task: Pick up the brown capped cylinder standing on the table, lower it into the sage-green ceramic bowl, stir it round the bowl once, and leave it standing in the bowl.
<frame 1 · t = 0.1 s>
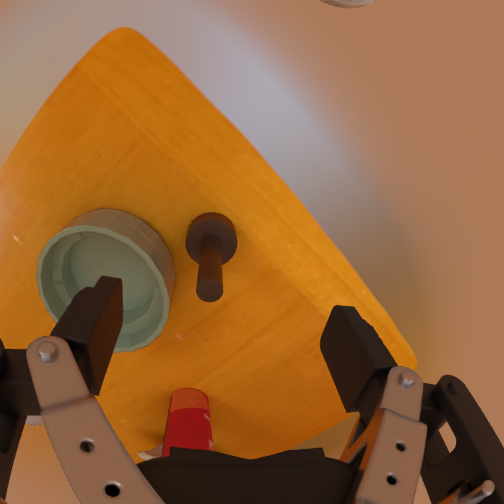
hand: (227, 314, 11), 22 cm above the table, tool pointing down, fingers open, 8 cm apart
long tapered cone: (47, 388, 41), on the table
brown capped cylinder: (211, 235, 32), on the table
bowl: (113, 269, 33), on the table
coffee cup: (190, 398, 43), on the table
pale crumpled lump: (175, 441, 49), on the table
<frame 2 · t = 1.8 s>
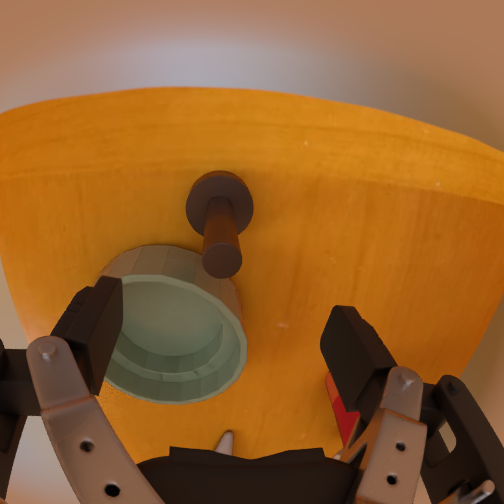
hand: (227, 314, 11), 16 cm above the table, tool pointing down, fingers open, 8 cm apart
long tapered cone: (213, 454, 43), on the table
brown capped cylinder: (219, 200, 25), on the table
bowl: (166, 312, 29), on the table
coffee cup: (345, 373, 37), on the table
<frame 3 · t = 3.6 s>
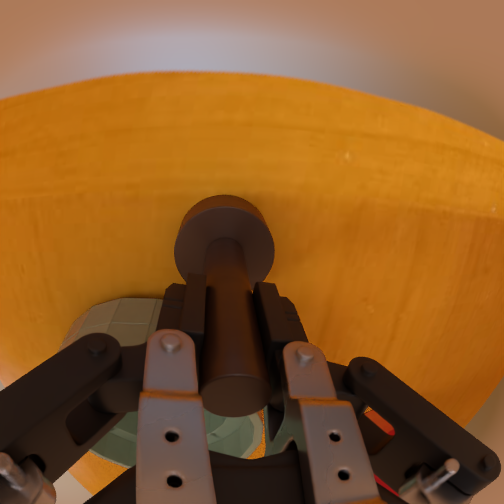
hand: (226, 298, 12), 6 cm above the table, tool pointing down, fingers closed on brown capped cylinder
brown capped cylinder: (223, 238, 18), on the table, touching gripper
bowl: (157, 372, 22), on the table
coffee cup: (369, 421, 29), on the table
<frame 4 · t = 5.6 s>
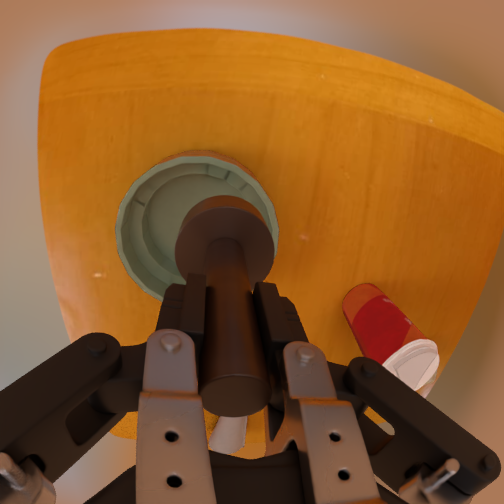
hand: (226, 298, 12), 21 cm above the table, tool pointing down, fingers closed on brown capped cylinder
long tapered cone: (228, 402, 46), on the table
brown capped cylinder: (223, 238, 18), point 15 cm above the table, touching gripper
bowl: (198, 219, 32), on the table
coffee cup: (360, 300, 40), on the table
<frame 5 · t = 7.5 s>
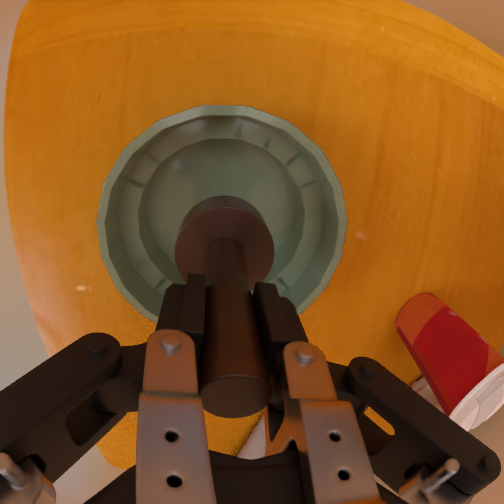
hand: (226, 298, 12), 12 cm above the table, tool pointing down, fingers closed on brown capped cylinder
long tapered cone: (249, 435, 37), on the table
brown capped cylinder: (223, 238, 18), point 6 cm above the table, touching gripper
bowl: (220, 210, 23), on the table
coffee cup: (416, 313, 30), on the table
pale crumpled lump: (422, 382, 37), on the table
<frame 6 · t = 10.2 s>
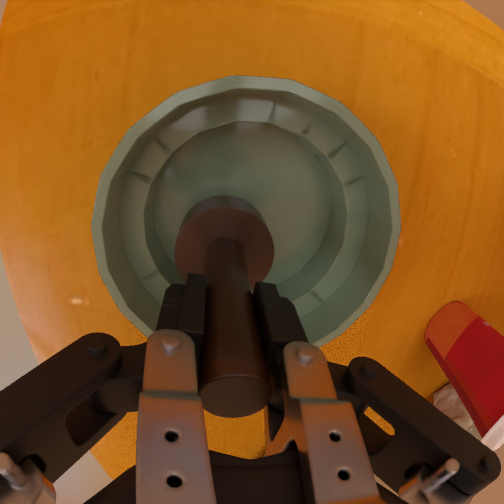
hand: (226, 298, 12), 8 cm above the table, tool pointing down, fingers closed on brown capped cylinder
brown capped cylinder: (223, 238, 18), point 2 cm above the table, touching gripper
bowl: (243, 210, 19), on the table
coffee cup: (444, 322, 27), on the table
pale crumpled lump: (442, 392, 33), on the table
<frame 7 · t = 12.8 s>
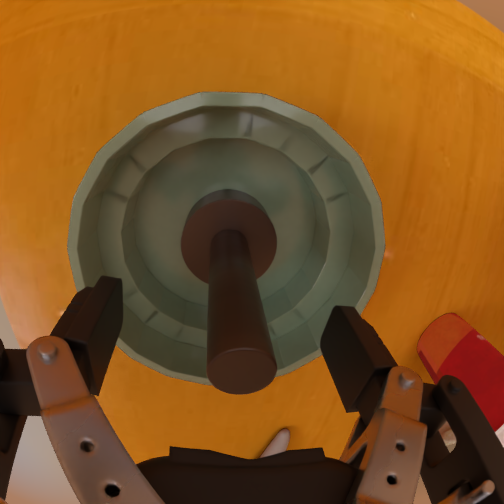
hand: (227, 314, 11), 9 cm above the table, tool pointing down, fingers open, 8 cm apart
long tapered cone: (255, 461, 32), on the table
brown capped cylinder: (227, 231, 18), point 1 cm above the table, touching bowl
bowl: (224, 226, 19), on the table
coffee cup: (438, 334, 26), on the table
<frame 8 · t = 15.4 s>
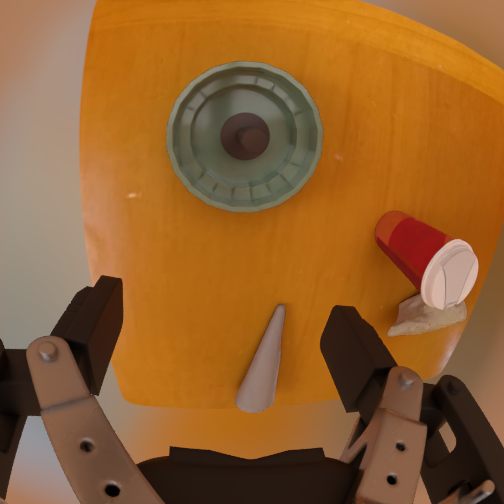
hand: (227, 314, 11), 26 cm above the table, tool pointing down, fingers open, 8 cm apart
long tapered cone: (258, 351, 46), on the table
brown capped cylinder: (243, 135, 32), point 1 cm above the table, touching bowl
bowl: (241, 134, 33), on the table
coffee cup: (391, 229, 40), on the table
pale crumpled lump: (408, 307, 46), on the table
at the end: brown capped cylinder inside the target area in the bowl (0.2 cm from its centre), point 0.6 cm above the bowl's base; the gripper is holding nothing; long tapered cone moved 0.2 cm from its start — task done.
